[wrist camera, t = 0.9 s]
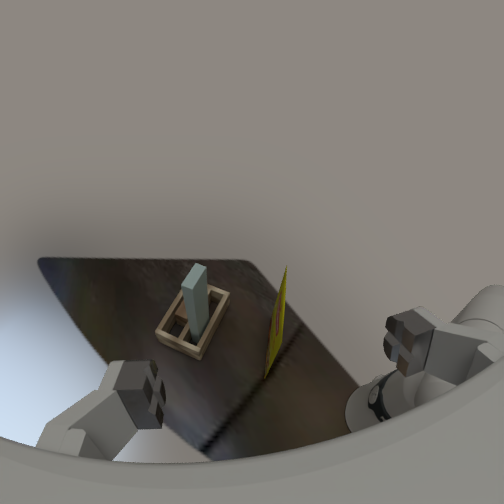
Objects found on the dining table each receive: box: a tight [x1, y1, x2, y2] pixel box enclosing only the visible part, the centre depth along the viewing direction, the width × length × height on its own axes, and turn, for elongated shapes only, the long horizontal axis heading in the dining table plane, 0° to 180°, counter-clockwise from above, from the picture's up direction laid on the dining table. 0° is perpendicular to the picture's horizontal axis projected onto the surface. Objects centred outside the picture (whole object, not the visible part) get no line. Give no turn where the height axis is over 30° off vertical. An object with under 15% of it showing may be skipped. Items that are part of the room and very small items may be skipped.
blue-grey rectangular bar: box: [181, 263, 210, 343], centre depth 54 cm, size 2×5×22 cm, turn 160°
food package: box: [264, 267, 287, 379], centre depth 54 cm, size 15×1×20 cm, turn 173°
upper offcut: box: [175, 299, 188, 324], centre depth 62 cm, size 3×6×2 cm, turn 160°
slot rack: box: [155, 284, 230, 360], centre depth 62 cm, size 10×16×5 cm, turn 159°
